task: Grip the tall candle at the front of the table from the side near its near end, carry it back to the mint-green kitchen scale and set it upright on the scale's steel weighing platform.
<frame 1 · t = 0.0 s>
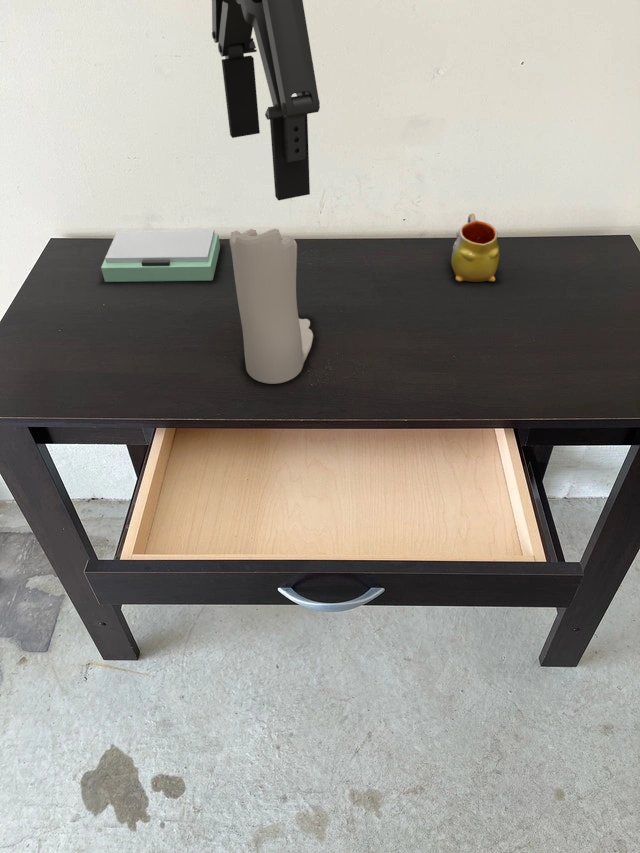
hand: (267, 163, 58), 29 cm above the table, tool pointing down, fingers open, 13 cm apart
candle: (282, 350, 85), on the table
mug: (471, 264, 99), on the table
scale: (164, 263, 100), on the table
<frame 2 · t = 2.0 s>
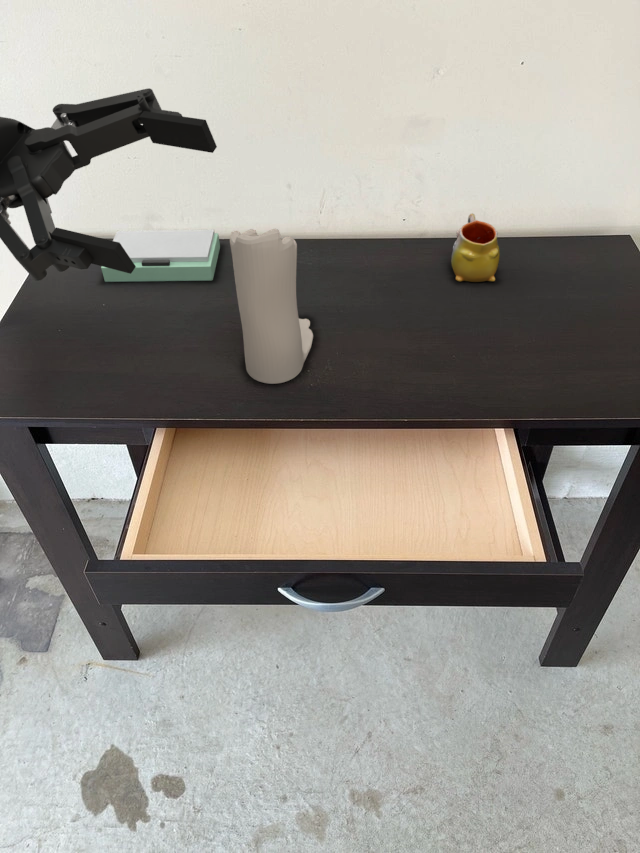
hand: (169, 195, 53), 29 cm above the table, tool horizontal, fingers open, 13 cm apart
nothing on the table moved.
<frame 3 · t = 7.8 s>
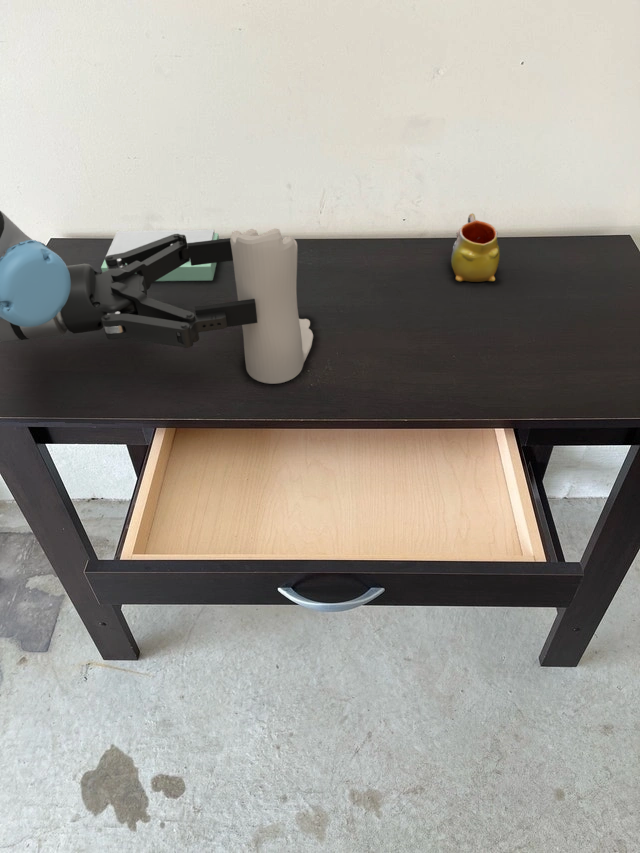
hand: (249, 277, 77), 11 cm above the table, tool horizontal, fingers open, 13 cm apart
candle: (282, 350, 85), on the table, touching gripper
everything else where it was.
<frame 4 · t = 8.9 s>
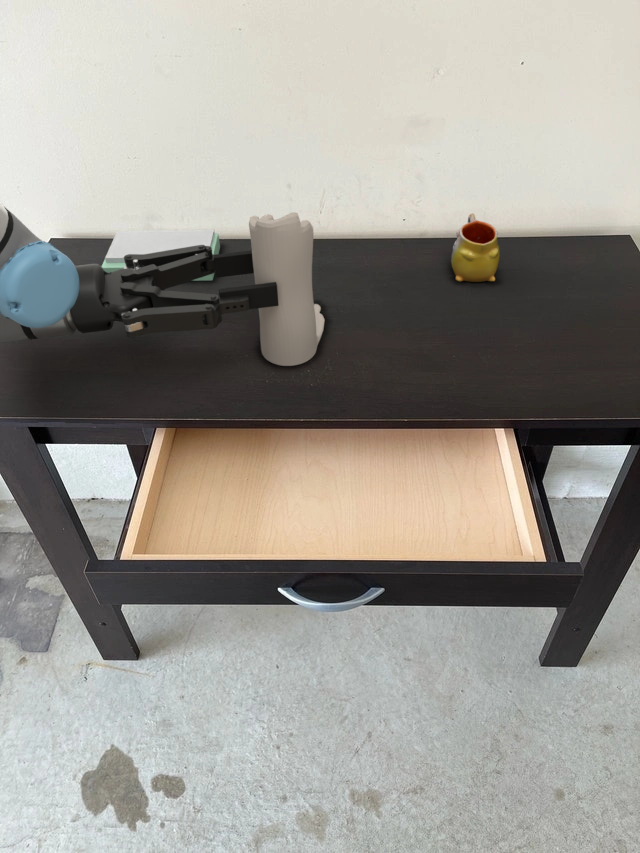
hand: (272, 276, 77), 11 cm above the table, tool horizontal, fingers closed on candle, 7 cm apart
candle: (295, 334, 88), on the table, touching gripper
everything else where it was.
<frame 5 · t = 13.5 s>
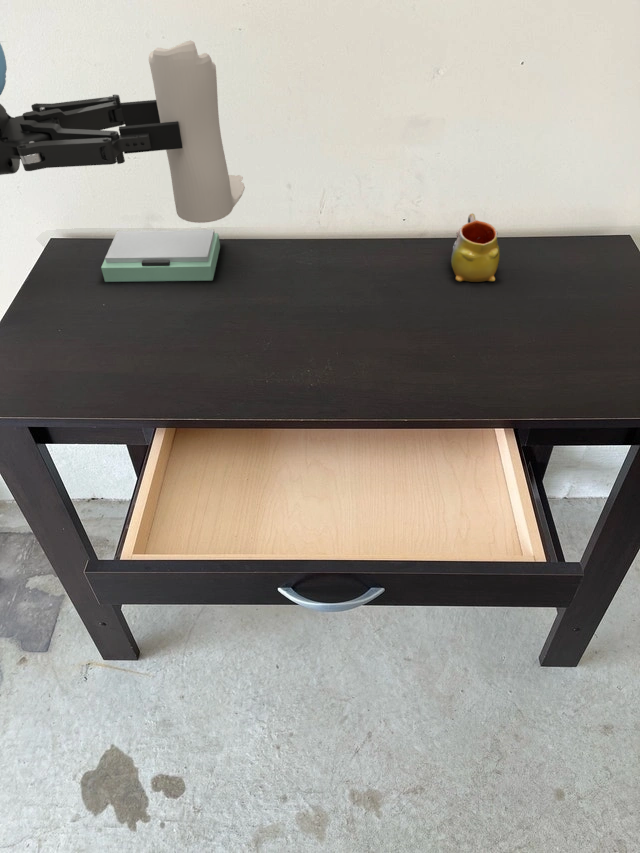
hand: (179, 122, 77), 24 cm above the table, tool horizontal, fingers closed on candle, 7 cm apart
candle: (213, 199, 87), point 13 cm above the table, touching gripper
everything else where it was.
when the fingers open (14 cm above the table, at t = 18.2 s): candle stays where it is, resting on scale.
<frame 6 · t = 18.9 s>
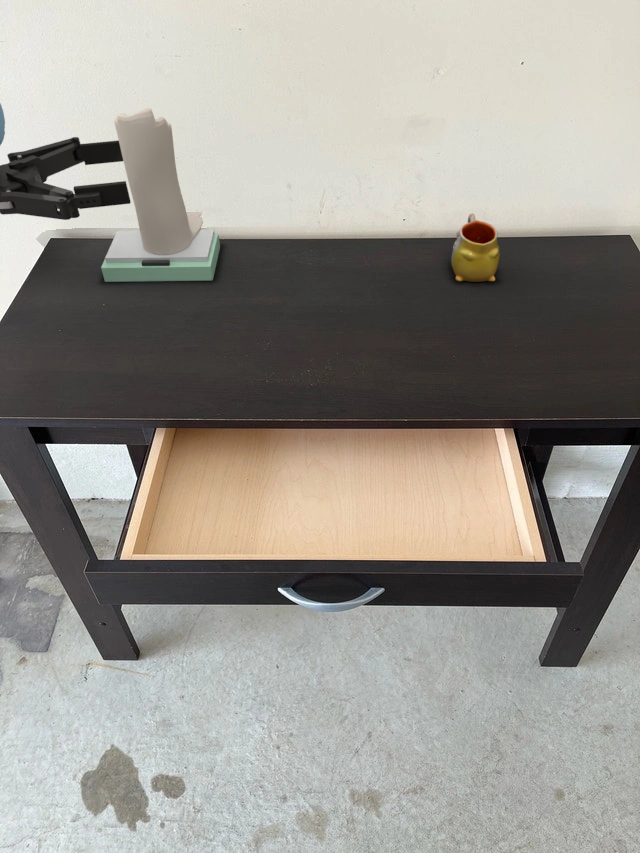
hand: (129, 170, 90), 15 cm above the table, tool horizontal, fingers open, 13 cm apart
candle: (175, 232, 101), point 3 cm above the table, touching scale
everything else where it was.
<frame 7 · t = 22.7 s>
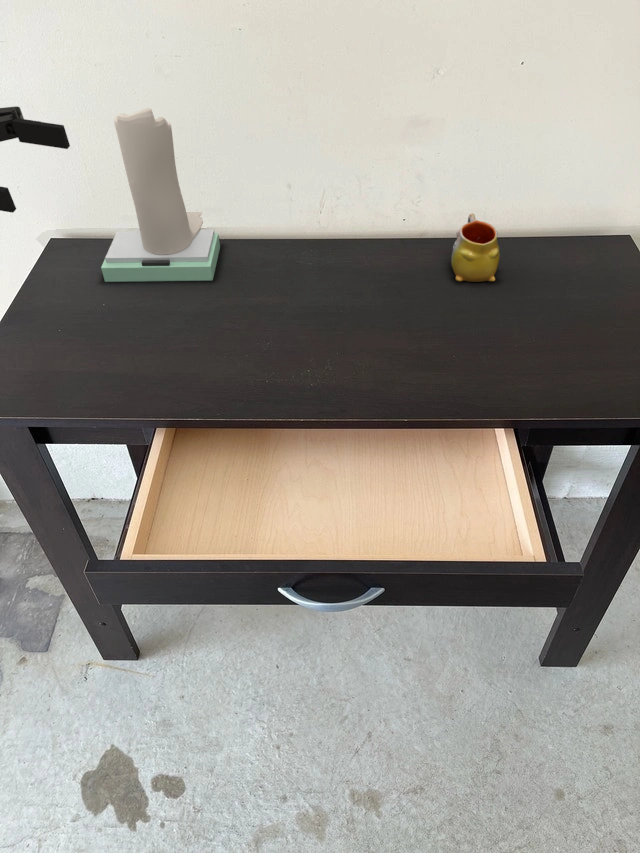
hand: (39, 167, 77), 20 cm above the table, tool horizontal, fingers open, 13 cm apart
nothing on the table moved.
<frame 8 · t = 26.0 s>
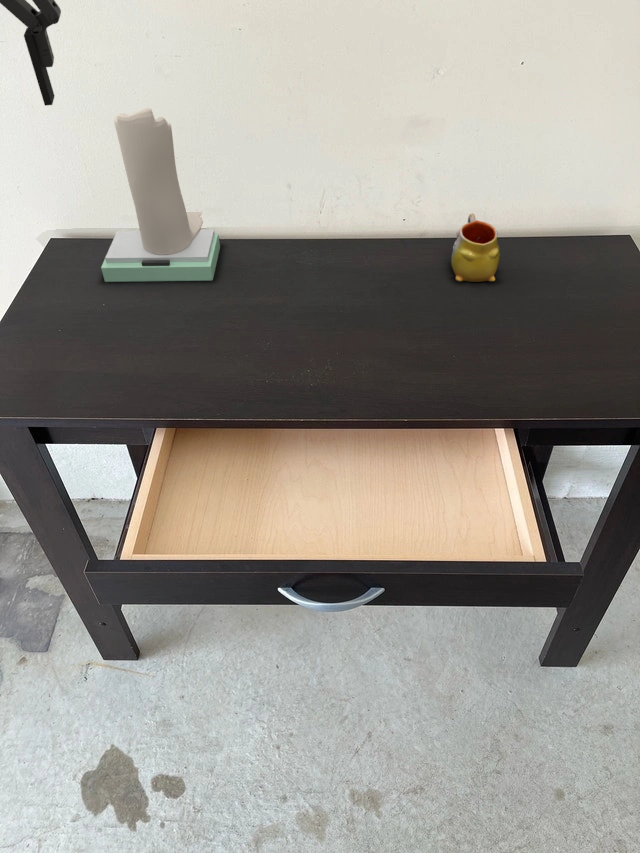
nothing on the table moved.
at the end: candle inside the target area on the scale (4.0 cm from its centre), point 3.0 cm above the scale's base; candle tilted 0°; the gripper is holding nothing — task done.
